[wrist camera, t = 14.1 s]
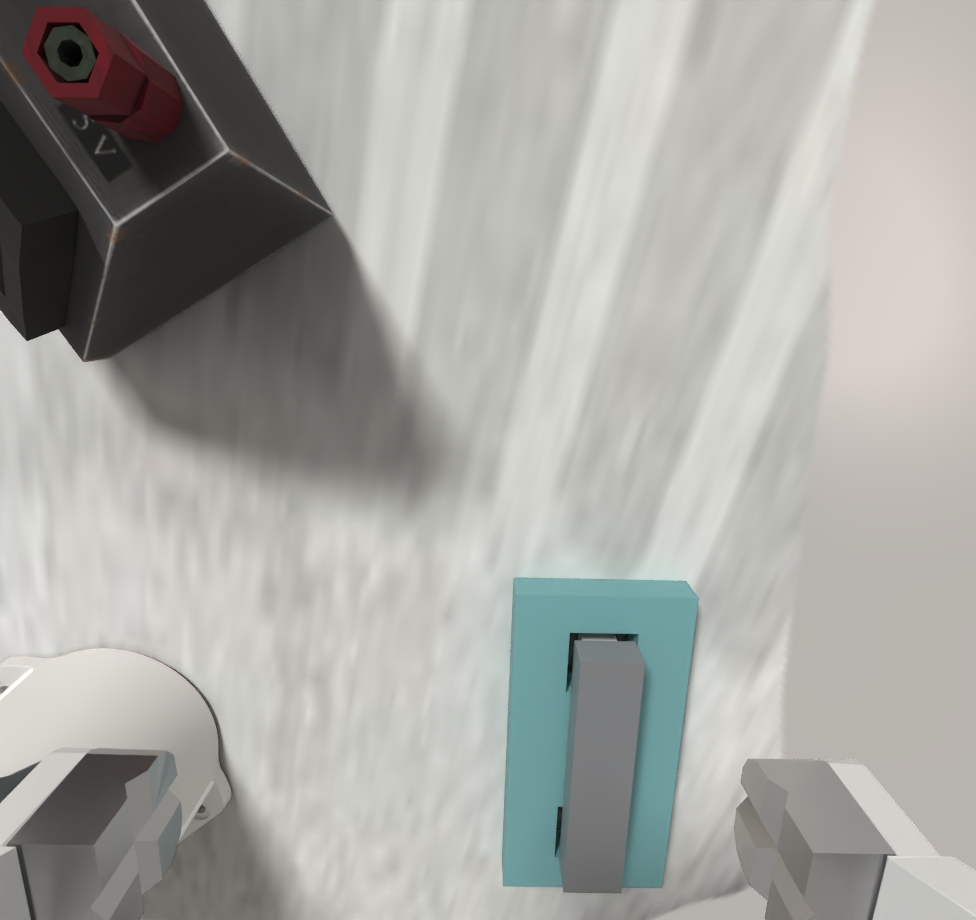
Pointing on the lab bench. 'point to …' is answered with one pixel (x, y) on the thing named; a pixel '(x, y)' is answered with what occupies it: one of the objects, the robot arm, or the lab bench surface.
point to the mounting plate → (546, 704)
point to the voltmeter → (133, 168)
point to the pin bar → (599, 762)
